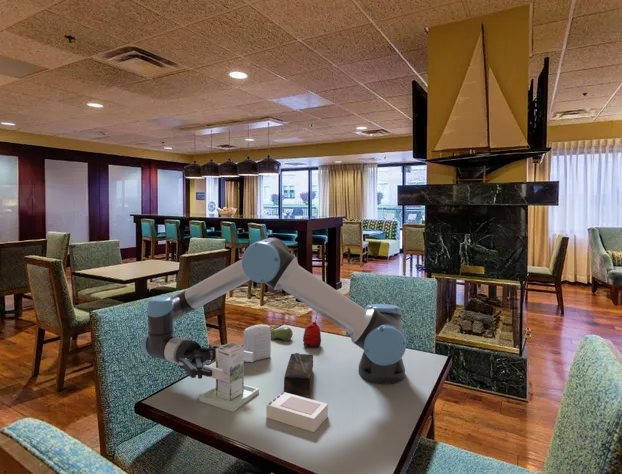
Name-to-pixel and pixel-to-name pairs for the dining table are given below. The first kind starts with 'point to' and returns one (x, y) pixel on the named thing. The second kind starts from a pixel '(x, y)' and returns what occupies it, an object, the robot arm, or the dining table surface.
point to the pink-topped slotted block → (297, 411)
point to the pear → (282, 333)
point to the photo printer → (258, 341)
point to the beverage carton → (299, 375)
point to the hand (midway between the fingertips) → (238, 365)
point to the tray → (225, 404)
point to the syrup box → (230, 371)
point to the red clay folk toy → (312, 335)
